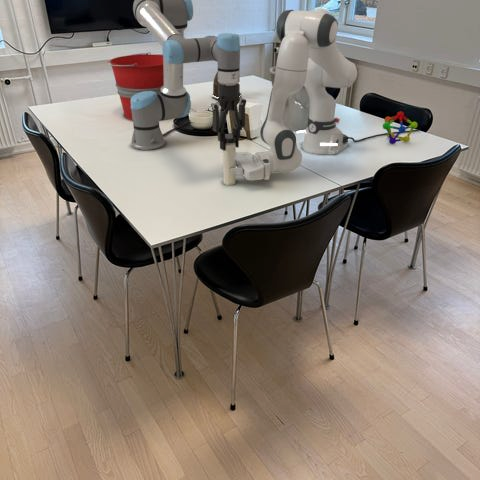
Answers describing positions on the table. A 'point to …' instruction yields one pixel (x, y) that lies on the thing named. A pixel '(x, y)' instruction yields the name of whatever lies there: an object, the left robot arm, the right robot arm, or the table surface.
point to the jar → (229, 163)
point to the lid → (230, 138)
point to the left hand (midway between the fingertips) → (229, 147)
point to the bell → (216, 86)
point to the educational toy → (398, 128)
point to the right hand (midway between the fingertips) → (227, 167)
